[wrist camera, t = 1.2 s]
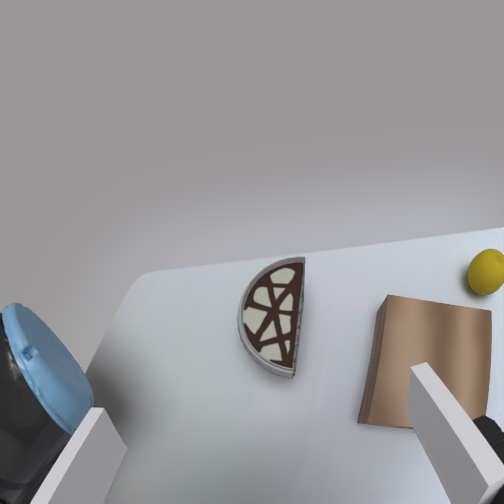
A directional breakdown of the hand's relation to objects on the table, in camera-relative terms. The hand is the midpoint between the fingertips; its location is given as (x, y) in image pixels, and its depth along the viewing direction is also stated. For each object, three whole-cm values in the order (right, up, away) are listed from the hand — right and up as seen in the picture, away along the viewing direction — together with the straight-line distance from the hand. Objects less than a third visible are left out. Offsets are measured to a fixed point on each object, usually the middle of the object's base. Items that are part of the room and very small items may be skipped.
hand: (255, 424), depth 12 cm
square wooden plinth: (+20, -8, +22) cm, 31 cm away
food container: (+3, -3, +27) cm, 27 cm away
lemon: (+31, +2, +26) cm, 40 cm away
